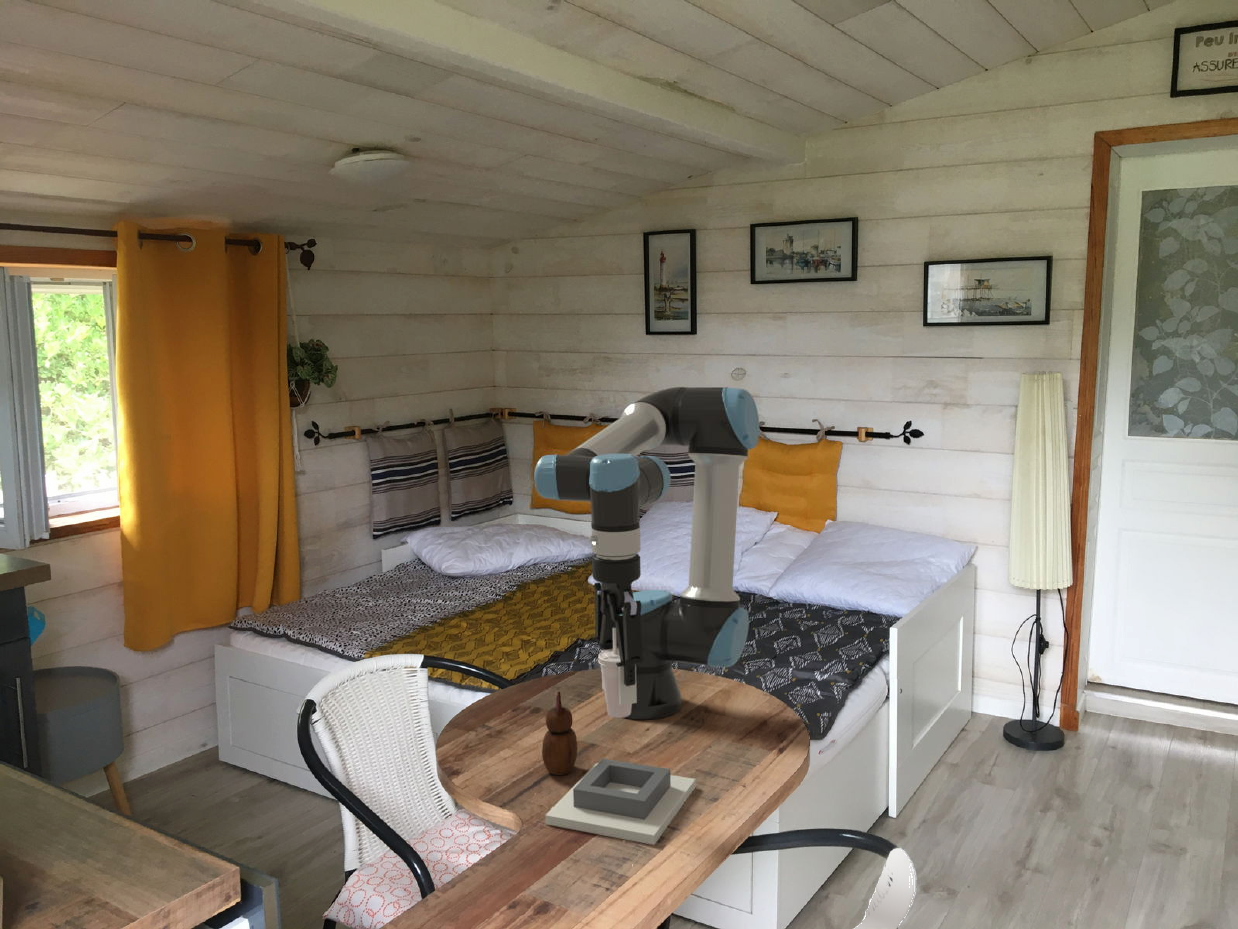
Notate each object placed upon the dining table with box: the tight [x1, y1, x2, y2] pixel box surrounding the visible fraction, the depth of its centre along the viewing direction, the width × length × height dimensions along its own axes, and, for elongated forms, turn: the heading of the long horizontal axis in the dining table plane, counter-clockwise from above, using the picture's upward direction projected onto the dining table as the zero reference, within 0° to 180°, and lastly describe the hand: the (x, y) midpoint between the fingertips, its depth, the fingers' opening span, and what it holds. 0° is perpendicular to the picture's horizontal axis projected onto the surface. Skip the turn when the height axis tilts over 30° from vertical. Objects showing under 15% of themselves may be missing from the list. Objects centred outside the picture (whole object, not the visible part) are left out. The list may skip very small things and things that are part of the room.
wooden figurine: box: [541, 691, 578, 776], centre depth 177 cm, size 7×6×15 cm
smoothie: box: [597, 628, 632, 719], centre depth 162 cm, size 6×6×14 cm
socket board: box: [545, 757, 697, 846], centre depth 165 cm, size 20×18×4 cm
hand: (619, 695), depth 162 cm, fingers closed on smoothie, 6 cm apart
